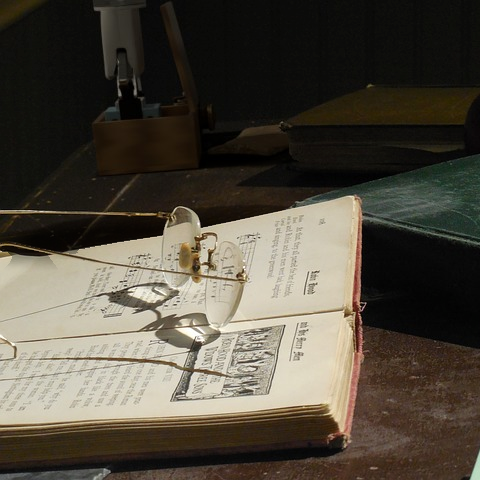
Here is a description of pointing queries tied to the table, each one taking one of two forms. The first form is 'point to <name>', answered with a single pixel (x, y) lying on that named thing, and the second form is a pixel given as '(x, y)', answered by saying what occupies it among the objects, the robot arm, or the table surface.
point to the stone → (255, 142)
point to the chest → (148, 142)
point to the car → (147, 111)
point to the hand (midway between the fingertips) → (134, 121)
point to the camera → (201, 117)
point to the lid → (180, 55)
